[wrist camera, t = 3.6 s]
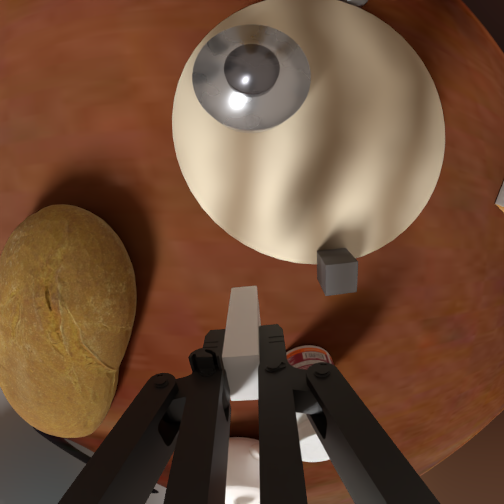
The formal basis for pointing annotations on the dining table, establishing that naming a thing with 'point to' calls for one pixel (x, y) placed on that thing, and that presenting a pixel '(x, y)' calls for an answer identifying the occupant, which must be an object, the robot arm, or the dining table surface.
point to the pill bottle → (307, 435)
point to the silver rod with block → (355, 2)
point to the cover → (251, 78)
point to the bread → (64, 319)
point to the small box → (500, 198)
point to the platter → (321, 144)
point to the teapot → (243, 471)
